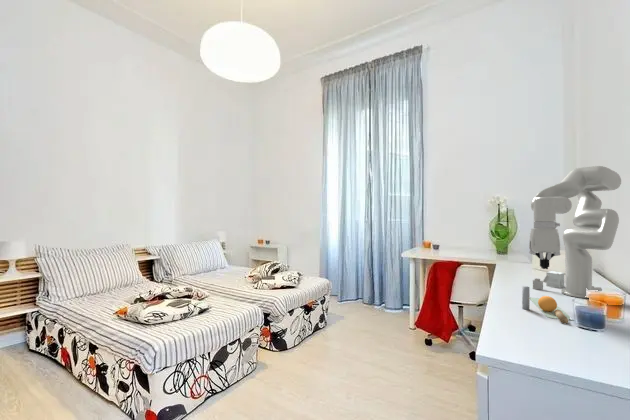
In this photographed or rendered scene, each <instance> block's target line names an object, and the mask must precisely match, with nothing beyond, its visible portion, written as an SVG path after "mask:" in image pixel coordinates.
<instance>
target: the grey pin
mask: <svg viewBox="0 0 630 420" xmlns="http://www.w3.org/2000/svg"><path fill="white" fill-rule="evenodd" d="M521 288H522V289H521V290H522V292H521V295H522V296H521V297H522V301H521V306H522V310H525V311H529V310H530V309H531V308H530V303H531V302H530V301H531V300H530V294H531V293H530V292H531V291H530V286H526V285H522V286H521Z"/></svg>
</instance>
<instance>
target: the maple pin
mask: <svg viewBox="0 0 630 420" xmlns="http://www.w3.org/2000/svg"><path fill="white" fill-rule="evenodd" d="M554 313H555V315H556V316H557V317H558V319H557V320H559V322H560V323H562V324H564V323H566V324H568V323H569V320H568V319H567V317H566V316H565V315H564V314H563V313H562V311H561V310H555V311H554Z"/></svg>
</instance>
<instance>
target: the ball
mask: <svg viewBox="0 0 630 420" xmlns="http://www.w3.org/2000/svg"><path fill="white" fill-rule="evenodd" d="M539 298H540V299H539V300H538V305H539V307H540V308H541V309H542V310H544V311H547V312H552V311H554V310H555V309H556V308H557V306H558V303H557V301H556V300H555V298H553V297H551V296H549V295H542V296H540V297H539Z"/></svg>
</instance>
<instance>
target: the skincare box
mask: <svg viewBox="0 0 630 420" xmlns="http://www.w3.org/2000/svg"><path fill="white" fill-rule="evenodd" d="M545 274H546V275H547V274H548V275H550V277H549V279H548V280H547V282H546V283H545V284H546V285H545V286H546V287H551V288H555V289H556V288H557V289H561V288H564V287H565V272H560V271H554V270H550V271H547V272H546V273H545ZM546 275H545V276H546Z"/></svg>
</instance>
